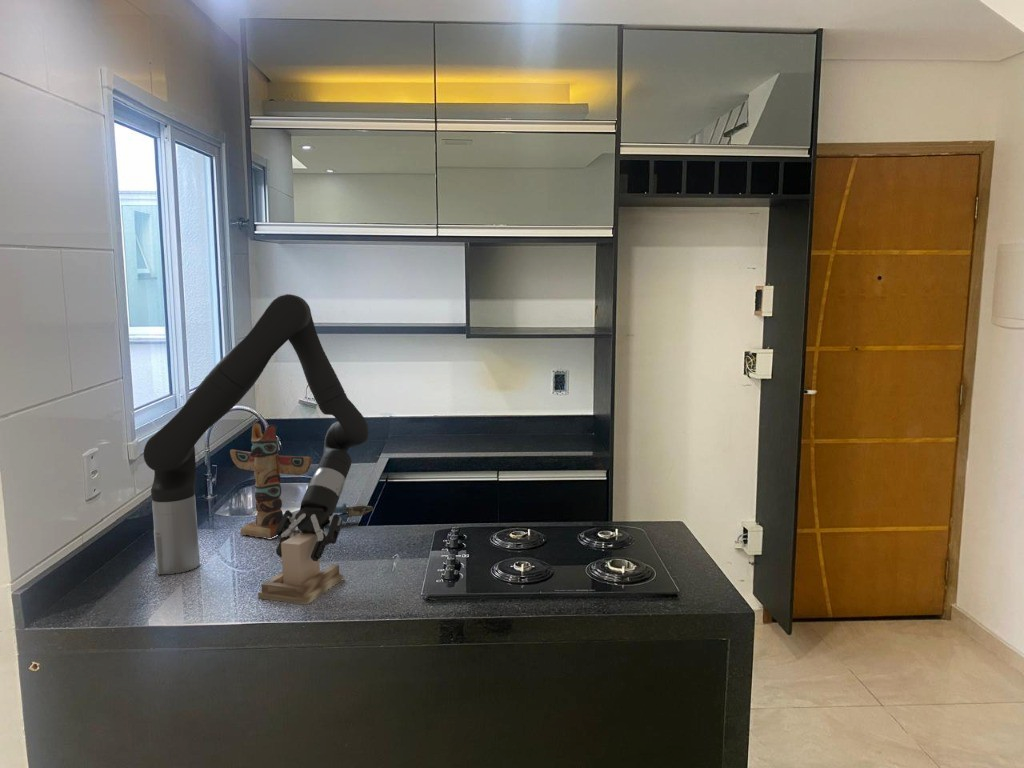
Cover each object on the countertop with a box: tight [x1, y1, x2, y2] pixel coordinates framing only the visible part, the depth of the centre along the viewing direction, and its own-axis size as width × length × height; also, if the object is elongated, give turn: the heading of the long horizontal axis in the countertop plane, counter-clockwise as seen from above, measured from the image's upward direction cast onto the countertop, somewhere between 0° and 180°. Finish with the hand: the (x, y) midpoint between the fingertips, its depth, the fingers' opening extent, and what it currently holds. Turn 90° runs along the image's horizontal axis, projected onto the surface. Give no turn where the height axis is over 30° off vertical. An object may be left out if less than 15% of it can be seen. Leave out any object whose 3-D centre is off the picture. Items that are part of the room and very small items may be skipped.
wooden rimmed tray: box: [257, 563, 344, 605], centre depth 153 cm, size 14×12×3 cm
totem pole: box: [229, 422, 312, 538], centre depth 190 cm, size 29×7×30 cm, turn 65°
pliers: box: [327, 502, 374, 526], centre depth 198 cm, size 20×2×6 cm, turn 115°
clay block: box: [281, 533, 321, 585], centre depth 153 cm, size 7×4×10 cm, turn 163°
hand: (296, 557), depth 151 cm, fingers open, 8 cm apart
